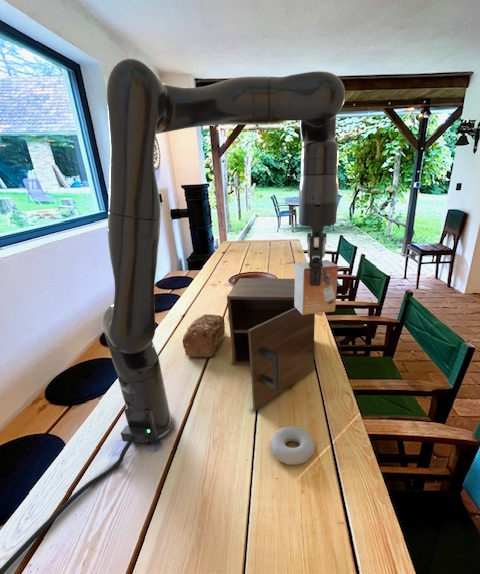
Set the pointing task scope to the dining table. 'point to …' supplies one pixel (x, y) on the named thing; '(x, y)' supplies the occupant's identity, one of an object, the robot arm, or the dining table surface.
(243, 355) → the cupboard
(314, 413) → the dining table surface
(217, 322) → the bread
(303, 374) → the cupboard door
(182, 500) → the dining table surface
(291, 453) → the donut
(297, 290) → the small box
